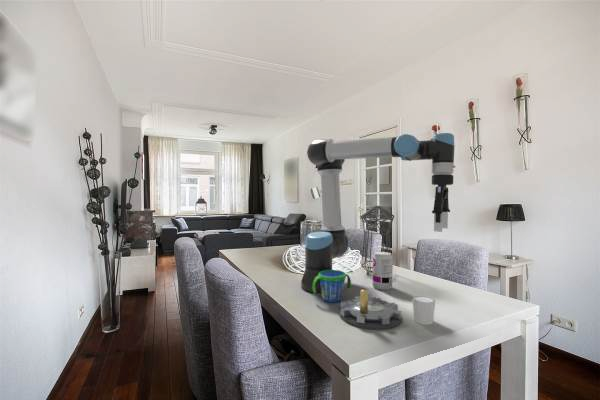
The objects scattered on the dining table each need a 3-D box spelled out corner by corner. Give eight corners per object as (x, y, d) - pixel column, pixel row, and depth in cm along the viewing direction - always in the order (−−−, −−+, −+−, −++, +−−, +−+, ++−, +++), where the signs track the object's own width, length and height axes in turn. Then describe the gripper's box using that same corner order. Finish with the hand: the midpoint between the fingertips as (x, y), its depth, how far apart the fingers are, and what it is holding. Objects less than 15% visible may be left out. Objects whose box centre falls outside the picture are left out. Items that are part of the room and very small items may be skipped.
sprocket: (330, 316, 95) (331, 288, 95) (351, 298, 113) (351, 274, 112) (393, 330, 86) (394, 299, 86) (405, 308, 103) (406, 282, 103)
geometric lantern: (393, 272, 156) (395, 205, 154) (389, 280, 142) (391, 207, 140) (363, 268, 163) (365, 204, 161) (356, 276, 148) (358, 205, 147)
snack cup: (316, 306, 108) (316, 278, 107) (308, 296, 118) (308, 270, 118) (356, 302, 111) (357, 275, 111) (345, 293, 122) (345, 268, 121)
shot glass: (437, 326, 92) (437, 304, 92) (413, 324, 93) (414, 302, 93) (432, 317, 98) (432, 296, 98) (410, 315, 100) (410, 294, 100)
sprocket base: (329, 320, 95) (329, 317, 95) (351, 301, 113) (351, 298, 113) (394, 335, 86) (394, 332, 86) (406, 311, 103) (406, 308, 103)
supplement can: (371, 289, 128) (371, 254, 127) (374, 283, 135) (374, 250, 135) (391, 291, 125) (391, 255, 124) (392, 286, 132) (393, 252, 132)
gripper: (448, 172, 102) (447, 234, 103) (457, 176, 123) (455, 227, 123) (425, 172, 106) (423, 232, 107) (437, 176, 127) (436, 226, 128)
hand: (441, 229), depth 115 cm, fingers open, 13 cm apart
